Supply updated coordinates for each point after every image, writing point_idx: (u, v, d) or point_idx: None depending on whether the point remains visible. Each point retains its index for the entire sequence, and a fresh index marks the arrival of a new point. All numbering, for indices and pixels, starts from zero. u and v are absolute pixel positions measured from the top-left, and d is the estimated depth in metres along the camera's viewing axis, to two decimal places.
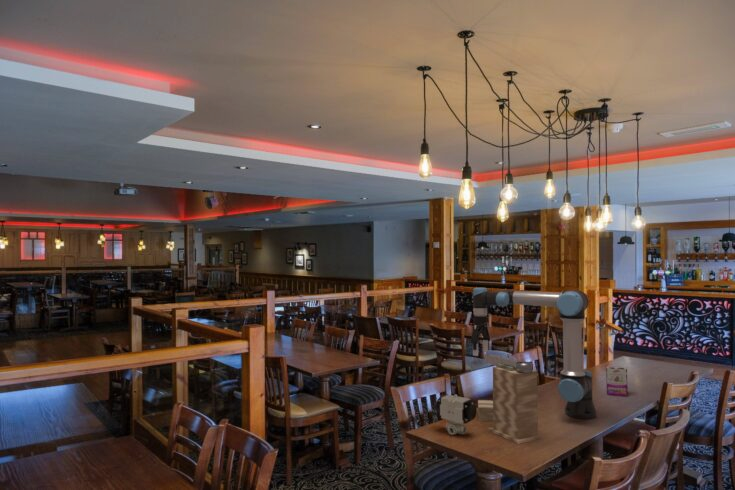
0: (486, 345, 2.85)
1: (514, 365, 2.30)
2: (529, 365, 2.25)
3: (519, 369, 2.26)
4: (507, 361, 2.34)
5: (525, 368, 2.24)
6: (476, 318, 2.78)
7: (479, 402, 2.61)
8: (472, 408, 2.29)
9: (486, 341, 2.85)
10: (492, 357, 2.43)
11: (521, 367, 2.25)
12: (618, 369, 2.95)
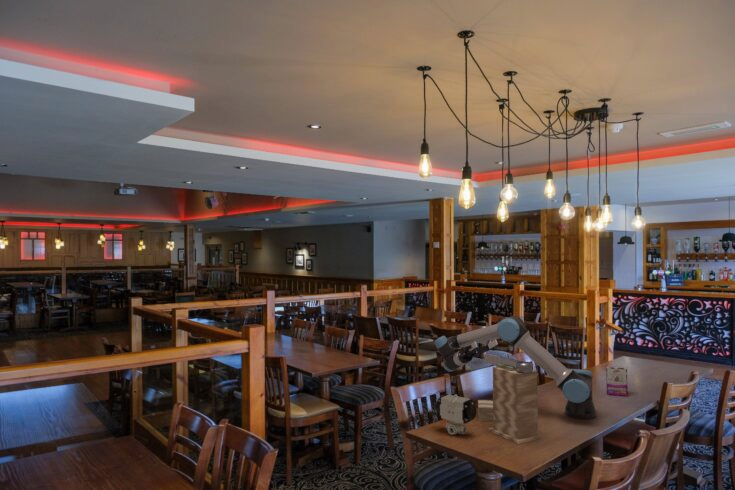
0: (491, 343, 2.63)
1: (514, 365, 2.30)
2: (529, 365, 2.25)
3: (519, 369, 2.26)
4: (507, 361, 2.34)
5: (525, 368, 2.24)
6: (459, 357, 2.70)
7: (479, 402, 2.61)
8: (472, 408, 2.29)
9: (488, 344, 2.65)
10: (492, 357, 2.43)
11: (521, 367, 2.25)
12: (618, 369, 2.95)
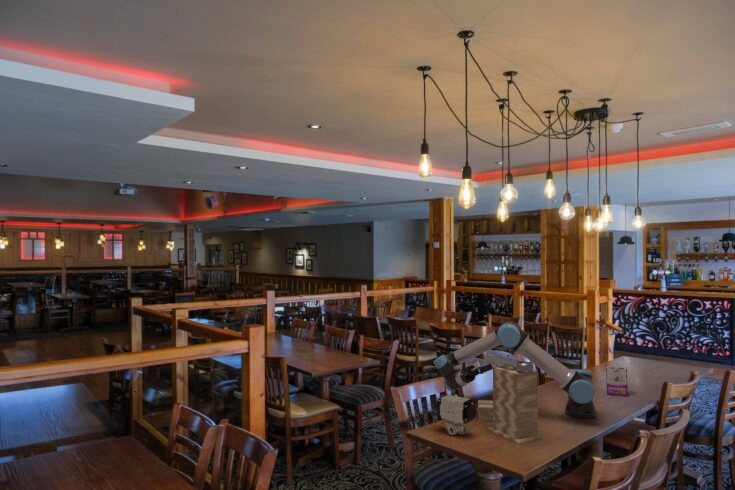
0: None
1: (514, 365, 2.30)
2: (529, 365, 2.25)
3: (519, 369, 2.26)
4: (507, 361, 2.34)
5: (525, 368, 2.24)
6: (461, 377, 2.60)
7: (479, 402, 2.61)
8: (472, 408, 2.29)
9: None
10: (492, 357, 2.43)
11: (521, 367, 2.25)
12: (618, 369, 2.95)
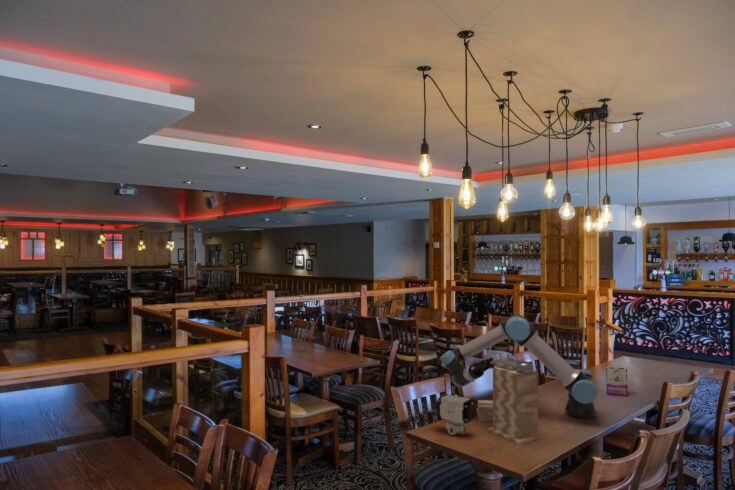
0: None
1: (514, 365, 2.30)
2: (529, 365, 2.25)
3: (519, 369, 2.26)
4: (507, 361, 2.34)
5: (525, 368, 2.24)
6: (470, 373, 2.55)
7: (479, 402, 2.61)
8: (472, 408, 2.29)
9: None
10: None
11: (521, 367, 2.25)
12: (618, 369, 2.95)
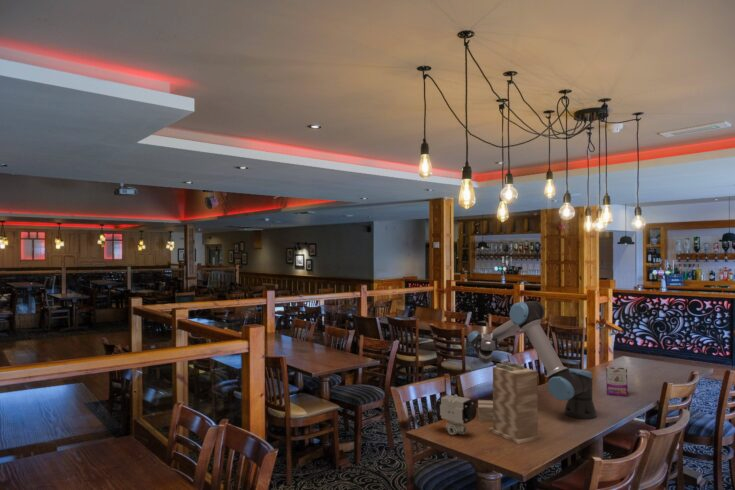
0: None
1: None
2: (487, 343, 2.49)
3: (481, 346, 2.53)
4: (483, 339, 2.61)
5: (484, 345, 2.50)
6: (479, 350, 2.85)
7: (479, 402, 2.61)
8: (472, 408, 2.29)
9: None
10: None
11: (481, 344, 2.52)
12: (618, 369, 2.95)
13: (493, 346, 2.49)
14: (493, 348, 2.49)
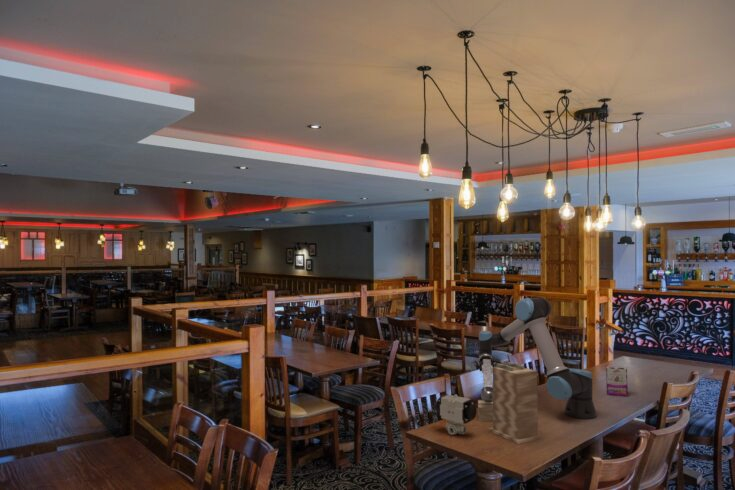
0: (491, 367, 2.69)
1: None
2: (488, 397, 2.51)
3: (481, 395, 2.55)
4: None
5: (484, 397, 2.52)
6: None
7: (479, 402, 2.61)
8: (472, 408, 2.29)
9: None
10: (483, 366, 2.70)
11: (481, 395, 2.54)
12: (618, 369, 2.95)
13: None
14: None
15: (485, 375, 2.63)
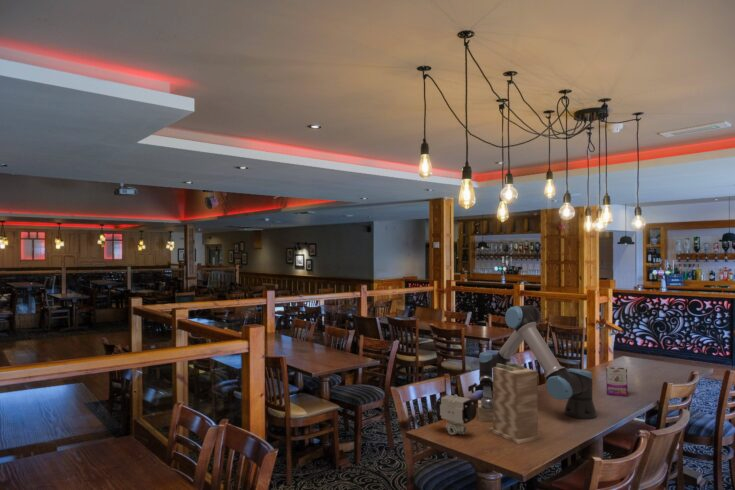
0: None
1: None
2: (487, 401, 2.50)
3: (481, 403, 2.53)
4: (483, 395, 2.62)
5: (484, 403, 2.51)
6: None
7: (479, 402, 2.61)
8: (472, 408, 2.29)
9: None
10: (483, 390, 2.72)
11: (481, 402, 2.53)
12: (618, 369, 2.95)
13: None
14: None
15: (485, 392, 2.65)
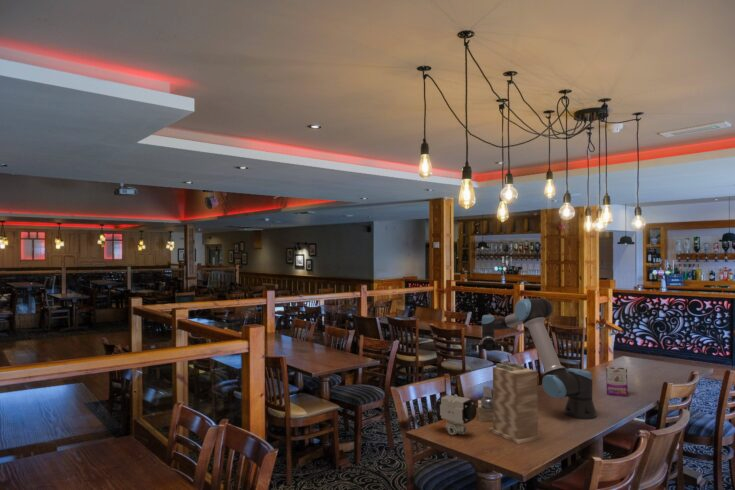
0: (501, 348, 2.82)
1: None
2: (487, 401, 2.50)
3: (481, 403, 2.53)
4: (483, 395, 2.62)
5: (484, 403, 2.51)
6: None
7: (479, 402, 2.61)
8: (472, 408, 2.29)
9: (501, 347, 2.84)
10: (483, 390, 2.72)
11: (481, 402, 2.53)
12: (618, 369, 2.95)
13: None
14: None
15: (485, 392, 2.65)
